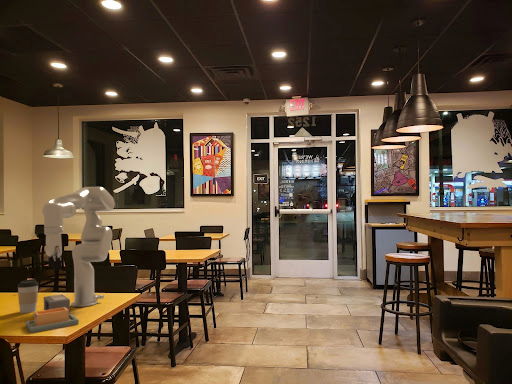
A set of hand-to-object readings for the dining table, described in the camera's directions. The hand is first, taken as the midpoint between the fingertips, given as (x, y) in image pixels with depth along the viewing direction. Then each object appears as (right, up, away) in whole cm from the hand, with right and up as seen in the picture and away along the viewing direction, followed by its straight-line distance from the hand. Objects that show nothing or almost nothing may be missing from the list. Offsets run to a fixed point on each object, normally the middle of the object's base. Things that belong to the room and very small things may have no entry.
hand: (54, 268), depth 176 cm
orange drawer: (+4, -21, -10) cm, 24 cm away
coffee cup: (-21, -25, +15) cm, 36 cm away
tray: (+4, -22, -10) cm, 25 cm away
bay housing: (-2, -23, +6) cm, 24 cm away
